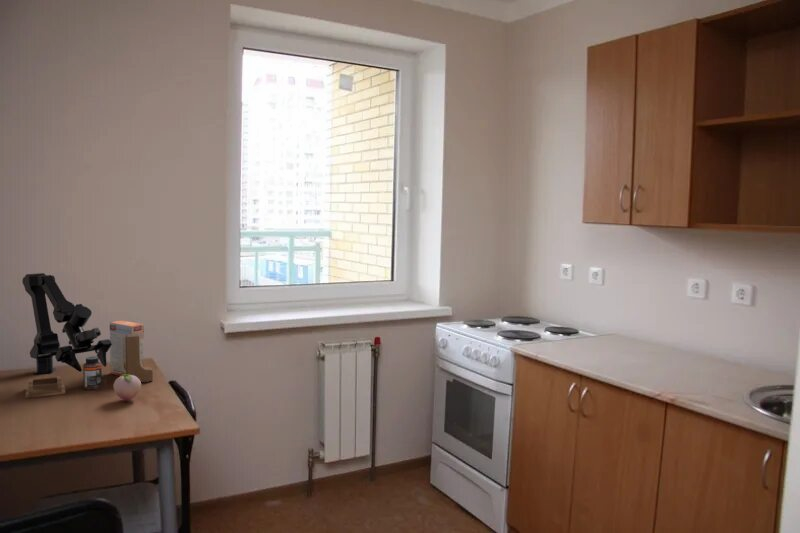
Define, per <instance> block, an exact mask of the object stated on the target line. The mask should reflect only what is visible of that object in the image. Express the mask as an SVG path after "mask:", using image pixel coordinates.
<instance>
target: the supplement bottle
mask: <svg viewBox="0 0 800 533" xmlns="http://www.w3.org/2000/svg"><path fill="white" fill-rule="evenodd" d="M82 368H83V369H82V370H83V373H82V374H83V376H82V377H83V388H84V389H85V390H87V391H88V390H89V391H90V390H91V391H93V390H94V391H95V390H97V389H100V388H102V386H103V380H102V379H103V378H102V377H103V376H102V363H101V362H99V359H98V357H97V356H87V357H86V358H85V363H84V364H83V365H82Z"/></svg>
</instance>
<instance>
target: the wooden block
mask: <svg viewBox="0 0 800 533" xmlns="http://www.w3.org/2000/svg"><path fill="white" fill-rule="evenodd" d="M126 372H127V374H129V375H134V376H136V377H137V378H138V379H139V380H140V381H141V382H142V383H150V382H149V381H152V382H153V381H154V380H153V379H154V377H153V376H154V375H153V374H154V372H153V368H152V367H150V366H144V367H143V366H142V365H141V364H140V342H139V335H138V334H131V335H126Z"/></svg>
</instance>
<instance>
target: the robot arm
mask: <svg viewBox="0 0 800 533" xmlns="http://www.w3.org/2000/svg"><path fill="white" fill-rule="evenodd" d="M22 285H23V287H24V290H25V292H26V293H27V294H28V295H29V296H30V297H31V303H32V310H33V315H34V321H35V328H36V335H35V336H34V339H33V345H32V347H31V349H30V351H29V356H30V358H31V359H34V360H35V363H36V364H35V365H36V370H35V371H33V374H34V375H35V374H36V375H37V374H52V373H54V371H56V370H57V367H54V357H55V360H56V362H57V363H58V362H61V363H63V364H67V365H68V366H70V367H72V368H74V369H75V370H76V371H77V372H82V370H83V369H82V367H81V365H80V363H79V361H78V359H77V357H76V355H77V354H83V353H88V352H89V353H90V352H95V354H96V357H98V361H100V363H101V366H103V367H107V353H108V351H110V347H111V345H112V343H111V341H110V338H107V339H100V340H98V341H97V343H96V344H93V343H94V342H95V339H98V337H100V336H101V335H102V334H101V330H100V328H99V327H92V328H91V329H88V330H87V329H86V330H84V326H86V324H87V323H88V322H89V319H90V318H91V316H92V314H93V313H92V310H91V308H88V307H87V306H84V305H83V304H82V303H78V304H74V303H72V302H71V301H69V300H67V299H66V296H65V295H64V294H63V292H62V290H61V289H60V287H59V285H58V284H57V282H56V278H55V276H54V275H52V274H45V273H44V272H42V273H41V272H40V273H26V274H25V275H24V276H23V278H22ZM46 297H47V298H48V300H49V302H50V304H51V306H53V310H52V315H53V318H54V320H55V321H56V322H57V323H58V324H59V323H60V324H61V323H62V324H63V323H65V324H64V325H63V326H62V327H63V328H62V329H61V332H62V333H64V334H66V336H67V338H68V345H63V346H61V344H60V341H59V335H58V333H57V332H56V333H55V332H54V331H53V330H52V328H51V322H50V316H49V310H48V302H47V298H46Z"/></svg>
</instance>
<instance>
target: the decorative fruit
mask: <svg viewBox="0 0 800 533" xmlns="http://www.w3.org/2000/svg"><path fill="white" fill-rule="evenodd" d="M112 386H113V390H114V392H115V394H116V396H118V398H120V399H122V400H124V401H126V402H128V401H130V400H132V399H134V398H136V396H137V395H138V394H139V393H140V391H141V390H142V383H141V381H140V380H139V379H138V378H137V377H136V376H134V375H129V374H127V372H126V374H122V375H121V376H119V377H117V378H116V379H115V381H114V383H113V385H112Z"/></svg>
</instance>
